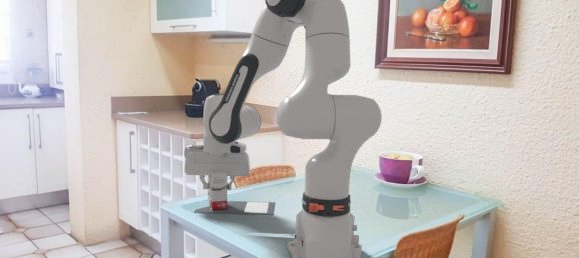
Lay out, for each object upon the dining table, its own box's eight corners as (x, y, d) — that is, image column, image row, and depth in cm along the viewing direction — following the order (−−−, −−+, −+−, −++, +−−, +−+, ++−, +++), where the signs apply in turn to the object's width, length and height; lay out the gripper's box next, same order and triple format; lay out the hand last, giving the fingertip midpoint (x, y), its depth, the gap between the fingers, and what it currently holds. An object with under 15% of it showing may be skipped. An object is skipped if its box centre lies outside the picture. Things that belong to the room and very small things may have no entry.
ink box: (227, 209, 143) (228, 172, 141) (212, 210, 141) (212, 172, 139) (222, 201, 151) (222, 166, 149) (207, 202, 149) (207, 167, 147)
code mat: (273, 215, 139) (273, 214, 139) (193, 212, 139) (193, 212, 139) (274, 202, 152) (274, 202, 152) (202, 200, 152) (202, 200, 152)
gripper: (181, 146, 140) (182, 190, 142) (249, 148, 140) (248, 192, 142) (186, 143, 146) (186, 185, 148) (251, 145, 146) (250, 187, 148)
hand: (217, 189), depth 145 cm, fingers closed on ink box, 6 cm apart
